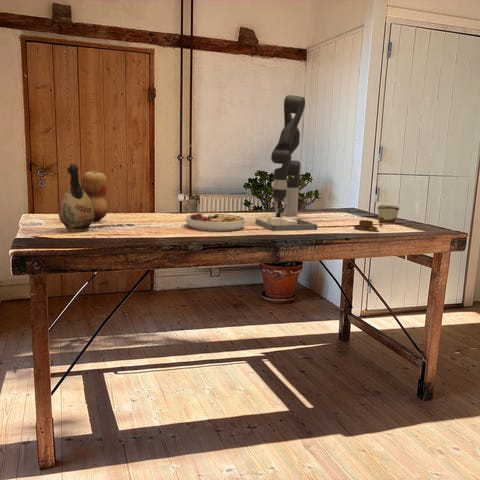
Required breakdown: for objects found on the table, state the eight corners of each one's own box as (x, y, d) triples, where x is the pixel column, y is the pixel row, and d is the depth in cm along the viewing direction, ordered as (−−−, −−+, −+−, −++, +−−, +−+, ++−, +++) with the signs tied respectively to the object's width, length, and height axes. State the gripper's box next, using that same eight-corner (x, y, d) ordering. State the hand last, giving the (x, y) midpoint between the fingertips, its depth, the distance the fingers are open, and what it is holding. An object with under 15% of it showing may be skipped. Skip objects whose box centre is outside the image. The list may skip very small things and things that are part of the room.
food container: (395, 222, 280) (397, 205, 278) (398, 224, 274) (399, 206, 272) (374, 221, 281) (375, 204, 279) (376, 223, 275) (377, 205, 273)
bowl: (211, 221, 261) (211, 206, 260) (256, 227, 244) (257, 212, 243) (172, 226, 237) (173, 211, 235) (220, 235, 220) (221, 218, 218)
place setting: (347, 227, 258) (348, 216, 257) (381, 227, 263) (382, 216, 262) (362, 233, 242) (363, 221, 241) (398, 233, 246) (399, 221, 245)
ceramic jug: (58, 228, 220) (55, 162, 214) (92, 227, 226) (91, 163, 220) (60, 234, 205) (57, 163, 199) (97, 233, 211) (96, 164, 205)
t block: (267, 224, 253) (268, 217, 253) (292, 224, 259) (293, 216, 258) (279, 229, 240) (280, 221, 239) (305, 228, 246) (306, 221, 245)
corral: (255, 223, 255) (255, 219, 255) (297, 222, 264) (297, 218, 264) (272, 230, 235) (272, 225, 235) (317, 229, 244) (317, 224, 243)
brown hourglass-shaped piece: (97, 224, 234) (96, 172, 229) (74, 222, 238) (72, 171, 233) (113, 220, 247) (112, 172, 242) (91, 218, 251) (90, 170, 246)
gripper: (268, 187, 260) (266, 218, 263) (278, 189, 248) (277, 222, 251) (280, 187, 263) (279, 218, 266) (291, 189, 251) (289, 222, 254)
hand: (278, 220), depth 259 cm, fingers closed
